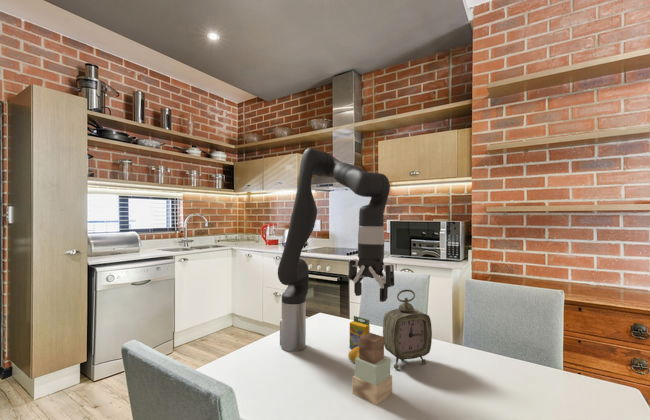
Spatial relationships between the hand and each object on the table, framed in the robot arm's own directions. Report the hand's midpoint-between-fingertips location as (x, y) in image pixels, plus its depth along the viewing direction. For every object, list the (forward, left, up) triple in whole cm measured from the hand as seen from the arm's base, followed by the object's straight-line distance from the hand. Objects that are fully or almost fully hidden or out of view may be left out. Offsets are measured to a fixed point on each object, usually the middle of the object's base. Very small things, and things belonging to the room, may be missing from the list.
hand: (370, 298), depth 92 cm
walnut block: (+1, -1, -17) cm, 17 cm away
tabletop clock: (-1, +22, -27) cm, 35 cm away
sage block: (+1, -1, -22) cm, 22 cm away
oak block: (+1, -1, -27) cm, 27 cm away
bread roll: (-13, +14, -27) cm, 33 cm away
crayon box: (-19, +20, -27) cm, 38 cm away
